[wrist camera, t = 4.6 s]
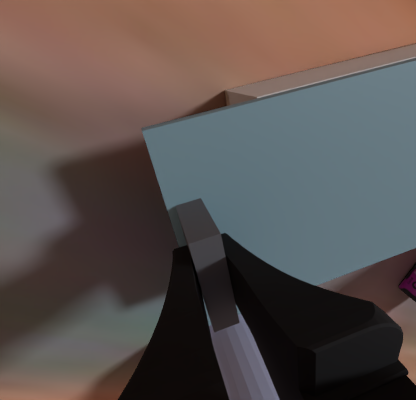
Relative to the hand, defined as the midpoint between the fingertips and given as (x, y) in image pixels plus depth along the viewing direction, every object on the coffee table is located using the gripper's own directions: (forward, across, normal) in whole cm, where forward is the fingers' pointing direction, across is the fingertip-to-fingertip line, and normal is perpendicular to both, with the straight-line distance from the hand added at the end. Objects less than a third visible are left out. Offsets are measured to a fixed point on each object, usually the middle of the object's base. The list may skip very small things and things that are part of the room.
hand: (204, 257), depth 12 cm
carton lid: (+2, -8, 0) cm, 8 cm away
